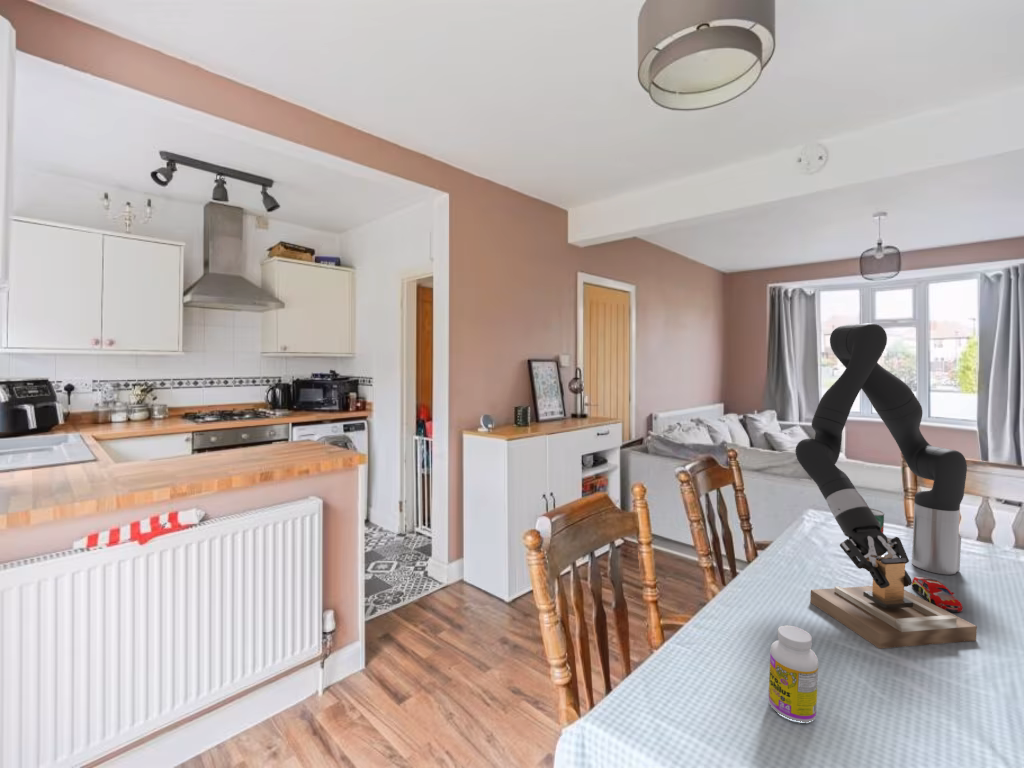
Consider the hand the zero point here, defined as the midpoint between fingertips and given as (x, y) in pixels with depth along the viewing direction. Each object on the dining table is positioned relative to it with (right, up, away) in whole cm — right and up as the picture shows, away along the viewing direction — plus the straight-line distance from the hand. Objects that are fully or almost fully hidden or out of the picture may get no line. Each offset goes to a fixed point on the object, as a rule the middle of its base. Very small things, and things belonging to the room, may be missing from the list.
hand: (896, 585), depth 101 cm
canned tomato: (+27, -7, +44) cm, 52 cm away
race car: (+19, -9, +11) cm, 23 cm away
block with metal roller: (0, -4, +2) cm, 5 cm away
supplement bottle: (-37, -10, -25) cm, 46 cm away
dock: (0, -8, +2) cm, 9 cm away
